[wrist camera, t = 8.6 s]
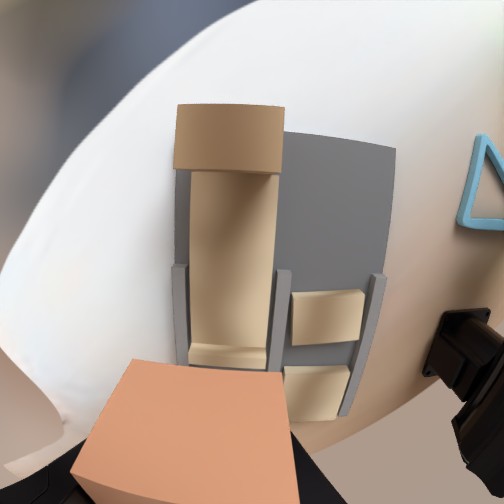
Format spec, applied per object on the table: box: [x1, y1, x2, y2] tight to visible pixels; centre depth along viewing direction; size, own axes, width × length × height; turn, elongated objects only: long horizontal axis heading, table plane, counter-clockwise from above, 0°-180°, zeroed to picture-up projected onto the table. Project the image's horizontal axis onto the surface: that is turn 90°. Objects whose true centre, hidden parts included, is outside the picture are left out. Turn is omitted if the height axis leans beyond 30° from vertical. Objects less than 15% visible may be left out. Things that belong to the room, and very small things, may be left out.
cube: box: [70, 359, 300, 504], centre depth 6 cm, size 4×4×4 cm
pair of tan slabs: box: [282, 289, 365, 422], centre depth 18 cm, size 5×11×1 cm, turn 177°
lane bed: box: [171, 131, 396, 417], centre depth 17 cm, size 13×20×2 cm, turn 177°
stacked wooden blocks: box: [173, 104, 285, 369], centre depth 14 cm, size 5×13×6 cm, turn 177°
